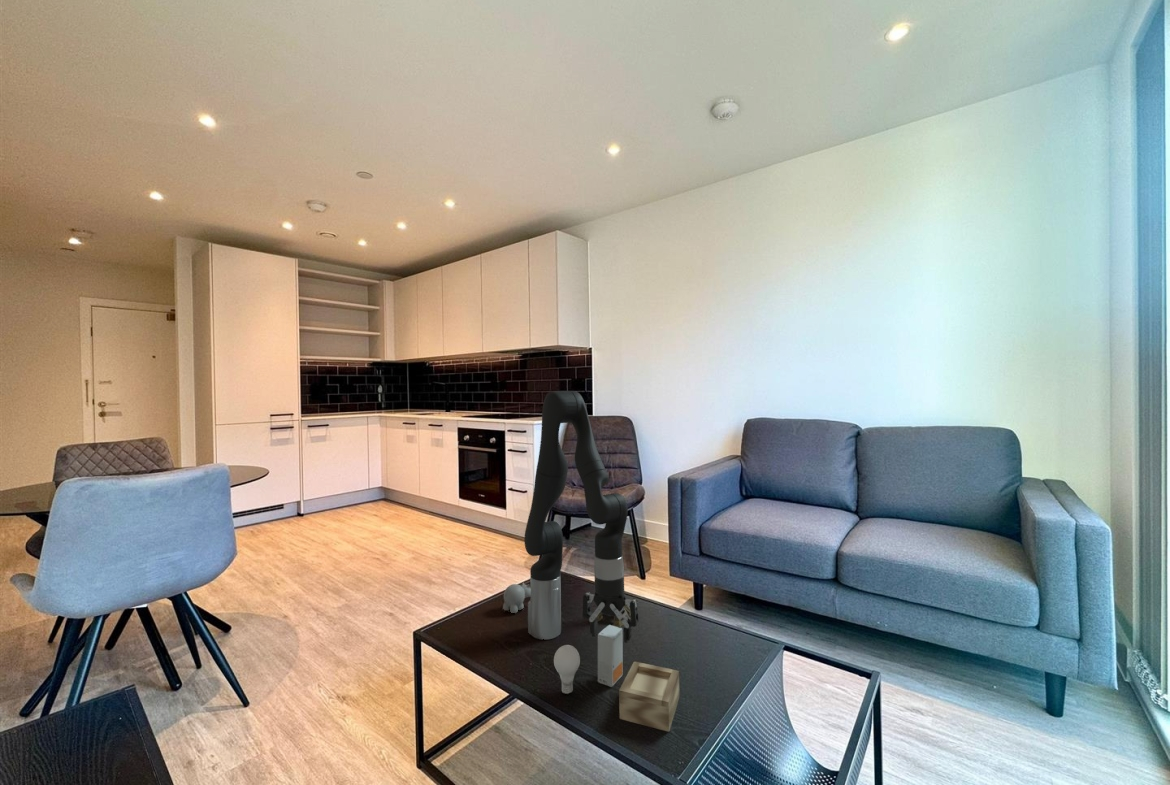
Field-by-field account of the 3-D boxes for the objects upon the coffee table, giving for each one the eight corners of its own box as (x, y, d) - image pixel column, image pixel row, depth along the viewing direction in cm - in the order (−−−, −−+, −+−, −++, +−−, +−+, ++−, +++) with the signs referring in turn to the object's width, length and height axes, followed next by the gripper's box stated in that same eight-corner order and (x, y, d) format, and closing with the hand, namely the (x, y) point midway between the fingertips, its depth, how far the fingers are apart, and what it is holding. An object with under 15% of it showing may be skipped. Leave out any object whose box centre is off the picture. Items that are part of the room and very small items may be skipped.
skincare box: (612, 688, 110) (611, 638, 111) (597, 682, 113) (596, 634, 113) (623, 675, 115) (623, 628, 116) (609, 670, 118) (608, 623, 118)
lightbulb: (553, 685, 112) (553, 640, 112) (579, 683, 112) (578, 639, 112) (554, 702, 105) (553, 654, 106) (581, 700, 106) (580, 653, 106)
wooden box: (619, 718, 100) (619, 690, 100) (634, 686, 111) (634, 661, 111) (669, 731, 95) (668, 702, 96) (679, 697, 106) (678, 670, 107)
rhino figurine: (539, 604, 157) (539, 579, 157) (513, 617, 148) (513, 591, 148) (525, 599, 162) (525, 575, 162) (499, 611, 152) (498, 585, 152)
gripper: (577, 575, 114) (579, 640, 113) (631, 582, 108) (633, 650, 108) (588, 565, 121) (590, 627, 120) (640, 571, 115) (641, 636, 115)
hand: (610, 638), depth 114 cm, fingers open, 8 cm apart
